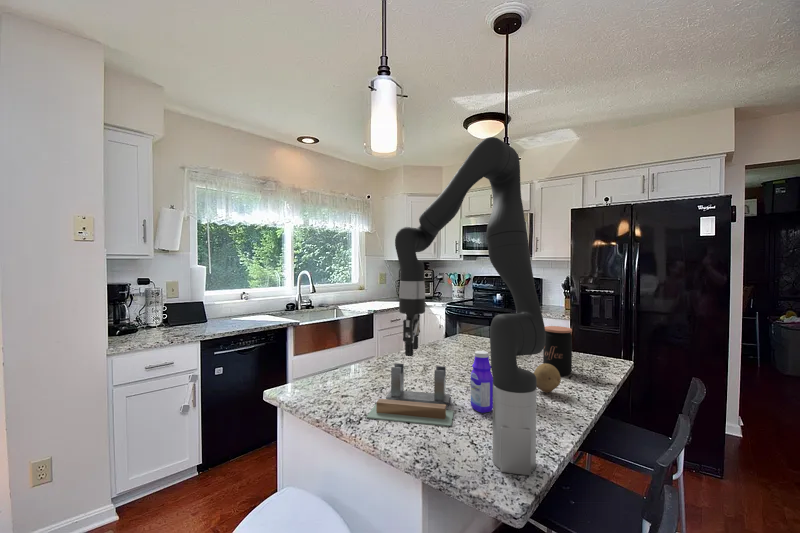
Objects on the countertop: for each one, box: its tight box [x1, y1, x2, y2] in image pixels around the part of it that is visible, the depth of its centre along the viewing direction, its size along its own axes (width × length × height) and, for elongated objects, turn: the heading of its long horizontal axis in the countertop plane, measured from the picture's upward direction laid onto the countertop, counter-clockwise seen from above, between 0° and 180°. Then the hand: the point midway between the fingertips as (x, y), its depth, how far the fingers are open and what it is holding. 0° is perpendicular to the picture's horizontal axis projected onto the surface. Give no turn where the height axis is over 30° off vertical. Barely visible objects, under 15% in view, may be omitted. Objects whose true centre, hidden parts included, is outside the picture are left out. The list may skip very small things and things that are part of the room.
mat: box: [366, 403, 455, 427], centre depth 108 cm, size 10×24×1 cm, turn 78°
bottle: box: [470, 350, 493, 414], centre depth 112 cm, size 7×6×17 cm
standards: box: [385, 362, 451, 406], centre depth 120 cm, size 7×20×10 cm, turn 78°
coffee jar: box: [542, 325, 573, 377], centre depth 150 cm, size 11×11×18 cm
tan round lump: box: [532, 363, 561, 394], centre depth 126 cm, size 9×9×10 cm
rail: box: [376, 398, 447, 419], centre depth 108 cm, size 3×20×3 cm, turn 77°
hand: (411, 352), depth 108 cm, fingers open, 8 cm apart
